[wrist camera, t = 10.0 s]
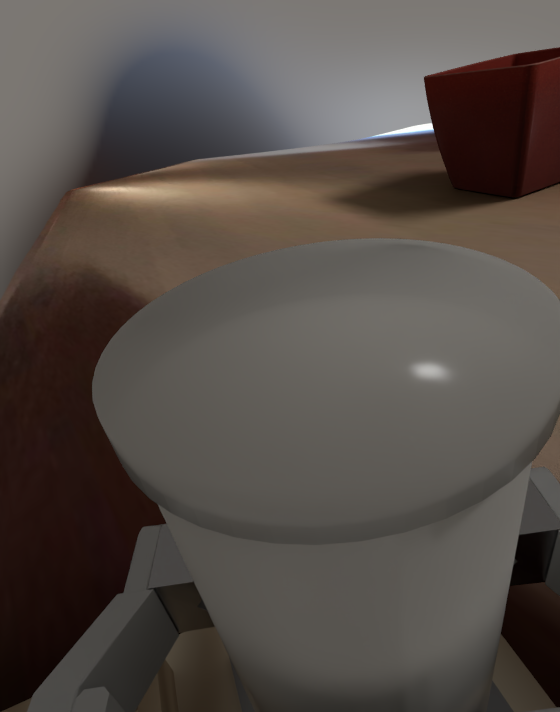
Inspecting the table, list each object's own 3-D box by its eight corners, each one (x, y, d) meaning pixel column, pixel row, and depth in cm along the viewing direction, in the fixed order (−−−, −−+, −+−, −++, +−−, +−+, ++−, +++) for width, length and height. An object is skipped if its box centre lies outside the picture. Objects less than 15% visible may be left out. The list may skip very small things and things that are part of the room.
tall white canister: (528, 855, 12) (745, 428, 4) (273, 883, 12) (-3, 541, 4) (417, 537, 20) (414, 190, 12) (266, 559, 20) (167, 235, 12)
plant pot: (420, 191, 76) (420, 75, 67) (505, 163, 81) (515, 52, 72) (516, 210, 61) (532, 63, 52) (613, 174, 66) (642, 35, 57)
